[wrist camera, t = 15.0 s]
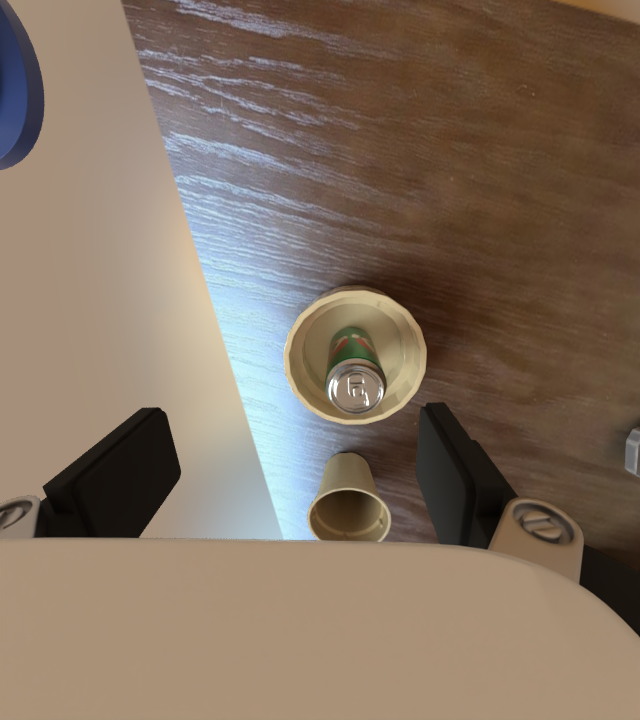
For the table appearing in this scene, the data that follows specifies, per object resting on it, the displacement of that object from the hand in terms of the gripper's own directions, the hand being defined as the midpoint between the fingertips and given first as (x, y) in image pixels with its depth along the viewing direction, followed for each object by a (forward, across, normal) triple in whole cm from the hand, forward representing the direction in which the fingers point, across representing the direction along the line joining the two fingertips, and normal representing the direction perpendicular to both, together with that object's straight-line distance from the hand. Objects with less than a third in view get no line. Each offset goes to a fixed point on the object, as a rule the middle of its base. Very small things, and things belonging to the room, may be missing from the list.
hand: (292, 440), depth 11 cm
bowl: (+25, -3, +4) cm, 25 cm away
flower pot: (+25, -2, +22) cm, 33 cm away
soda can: (+24, -3, +4) cm, 25 cm away
